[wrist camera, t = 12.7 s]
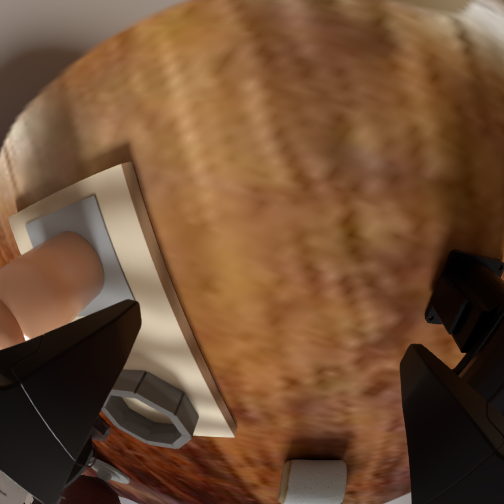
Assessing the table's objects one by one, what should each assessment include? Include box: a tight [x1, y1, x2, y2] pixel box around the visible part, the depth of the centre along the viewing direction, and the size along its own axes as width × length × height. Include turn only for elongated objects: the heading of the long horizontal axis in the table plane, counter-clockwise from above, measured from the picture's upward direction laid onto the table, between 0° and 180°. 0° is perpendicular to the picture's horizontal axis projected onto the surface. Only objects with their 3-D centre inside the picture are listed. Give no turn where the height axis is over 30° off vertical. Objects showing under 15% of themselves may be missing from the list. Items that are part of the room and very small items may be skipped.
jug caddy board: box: [8, 161, 237, 449], centre depth 24 cm, size 30×16×4 cm, turn 14°
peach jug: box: [0, 231, 104, 350], centre depth 17 cm, size 9×6×11 cm
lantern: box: [32, 415, 110, 504], centre depth 23 cm, size 8×8×30 cm
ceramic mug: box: [279, 459, 347, 504], centre depth 30 cm, size 11×8×8 cm
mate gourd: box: [59, 457, 130, 504], centre depth 40 cm, size 16×14×20 cm
